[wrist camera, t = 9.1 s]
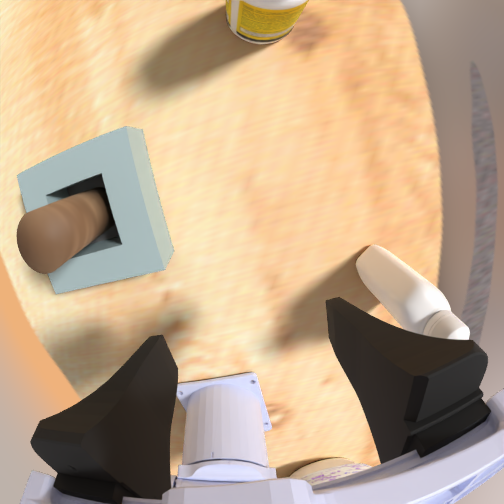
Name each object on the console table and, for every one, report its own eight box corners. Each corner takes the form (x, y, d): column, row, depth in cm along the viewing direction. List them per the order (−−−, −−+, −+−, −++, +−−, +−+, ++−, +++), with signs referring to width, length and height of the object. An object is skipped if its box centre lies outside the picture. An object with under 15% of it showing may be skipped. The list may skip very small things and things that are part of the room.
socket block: (174, 250, 21) (164, 269, 18) (75, 274, 21) (56, 293, 18) (142, 129, 18) (126, 126, 15) (42, 169, 18) (16, 175, 15)
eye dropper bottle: (397, 232, 22) (502, 300, 11) (403, 290, 24) (485, 372, 13) (351, 249, 22) (442, 337, 11) (361, 307, 24) (432, 406, 13)
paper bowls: (383, 455, 35) (399, 491, 28) (312, 494, 38) (320, 528, 31) (331, 436, 31) (348, 486, 23) (249, 480, 34) (254, 524, 26)
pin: (123, 226, 20) (72, 269, 12) (87, 234, 19) (27, 277, 12) (114, 182, 18) (54, 203, 11) (77, 192, 18) (10, 218, 11)
